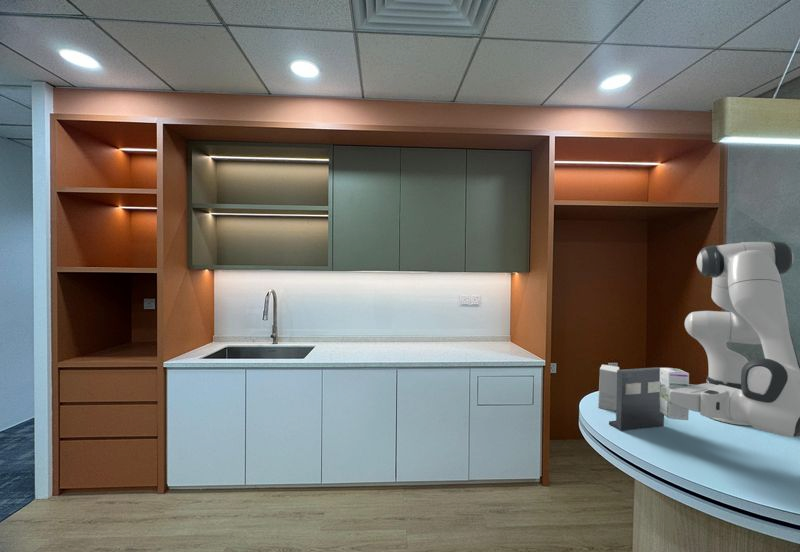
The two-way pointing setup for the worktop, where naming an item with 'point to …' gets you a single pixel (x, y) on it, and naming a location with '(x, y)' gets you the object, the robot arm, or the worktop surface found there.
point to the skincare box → (608, 387)
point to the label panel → (638, 399)
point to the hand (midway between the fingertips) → (671, 387)
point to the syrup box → (673, 380)
